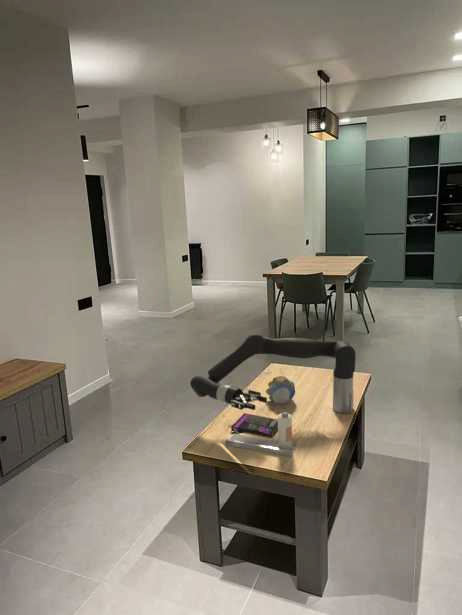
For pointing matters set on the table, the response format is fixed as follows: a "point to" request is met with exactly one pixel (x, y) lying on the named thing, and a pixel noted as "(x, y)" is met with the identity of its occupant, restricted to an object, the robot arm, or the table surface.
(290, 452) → the rail
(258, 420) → the box
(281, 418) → the cream bottle
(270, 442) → the shelf board
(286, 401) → the decorative rock
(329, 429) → the table surface
